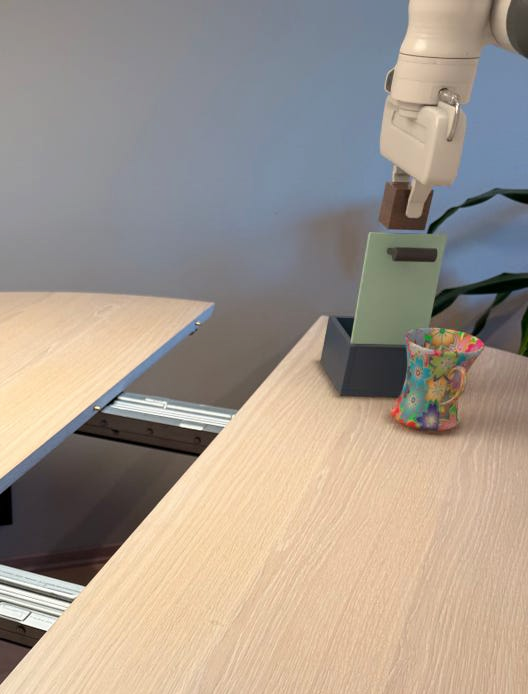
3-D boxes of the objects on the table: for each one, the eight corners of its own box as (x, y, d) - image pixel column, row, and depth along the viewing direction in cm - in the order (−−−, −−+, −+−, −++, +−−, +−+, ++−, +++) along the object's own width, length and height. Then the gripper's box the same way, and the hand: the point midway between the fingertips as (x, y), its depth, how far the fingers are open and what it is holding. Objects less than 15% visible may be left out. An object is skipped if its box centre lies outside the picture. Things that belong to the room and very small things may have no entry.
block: (414, 221, 125) (423, 182, 122) (424, 230, 121) (434, 190, 118) (378, 220, 125) (386, 181, 122) (387, 229, 121) (396, 189, 118)
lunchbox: (319, 362, 142) (328, 315, 138) (385, 363, 142) (396, 317, 138) (340, 395, 132) (350, 346, 128) (411, 397, 132) (423, 348, 128)
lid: (368, 232, 122) (380, 236, 118) (445, 234, 122) (460, 238, 118) (350, 342, 128) (360, 350, 124) (423, 344, 128) (436, 352, 124)
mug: (374, 407, 129) (393, 327, 123) (442, 407, 130) (464, 327, 124) (410, 447, 119) (432, 362, 113) (483, 445, 120) (509, 361, 114)
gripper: (491, 96, 105) (457, 232, 113) (433, 74, 122) (407, 193, 130) (432, 95, 105) (402, 231, 113) (382, 72, 122) (359, 192, 130)
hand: (404, 210), depth 122 cm, fingers closed on block, 4 cm apart
